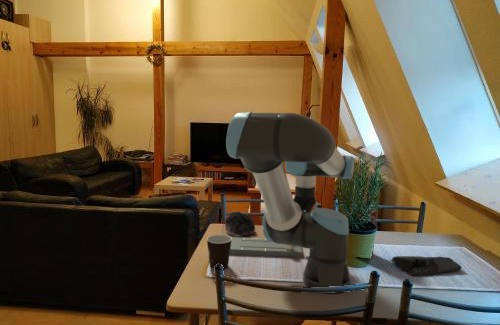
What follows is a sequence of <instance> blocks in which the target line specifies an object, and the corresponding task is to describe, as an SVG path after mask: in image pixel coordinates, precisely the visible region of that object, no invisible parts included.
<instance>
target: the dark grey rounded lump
mask: <svg viewBox="0 0 500 325" xmlns="http://www.w3.org/2000/svg"><path fill="white" fill-rule="evenodd" d="M224 225H225V230H226V233H227V235H230V236H233V237H236V238H242V237H244V236H249V235H250V236H251V235H253V234H255V230H256V225H255V222H254V219H253V218H251V216H249V215H248V214H246V213H242V212H240V211H231V213H230V214H229V216H228V217H226V219H225V224H224Z"/></svg>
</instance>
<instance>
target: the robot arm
mask: <svg viewBox="0 0 500 325" xmlns="http://www.w3.org/2000/svg"><path fill="white" fill-rule="evenodd" d="M225 143H226V144H225V147H226V152H227V154H228V156H229V157H230V158H233V159H235V160H236V159H240V161H241V162H242V165H243V167H244V169H245V170H247V171H248V172H249V173H252V175H253V176H254V177H253V178H254V179H255V183H256V184H257V188H258V190H259V193H260V195H261V197H262V200H263V202H264V205H265V207H266V208H265V209H266V210H265V212H264V214H263V218H262V223H261V226H262V233H263V236H264V238H266V239H267V240H269V241H271V242H274V243H277V244H285V245H291V246H297V247H301V249H302V248H303V249H309V256H308V260H307V262H306V265H305V267H304V270H303V274H302V281H303V283H304V285H306V286H307V287H308V288H309V287H329V286H344V285H351V286H352V277H351V273H350V270H349V266H348V262H347V259H348V258H347V256H348V242H349V239H348V238H349V233H350V230H349V218H348V217H347V216H346V215H345V214H343V213H342V212H340V211H337V210H334V209H330V208H326V207H322V204H321V203H318V202H317V200H316V197H315V196H316V187H315V186H316V177H324V178H336V179H340V180H341V179H342V180H344V179H348V180H349V179H352V178H353V176H354V172H355V171H354V170H355V159H354V157H353V156H349V155H345V154H344V155H342V153H341V152H340V151H339V149H338V148H337V146H336V140H335V137H334V135H333V134H332V132H331V131H330V130H329V129H328V128H327V127H326V126H324V125H323V124H322V123H320V122H318V121H316V120H315V119H313V118H311V117H309V116H307V115H303V114H299V113H296V112H295V113H294V112H252V111H246V112H244V111H243V112H237V113H236V114H235V115H233V116H232V118H231V120H230V121H229V124H228V127H227V132H226V138H225ZM284 163H285V164H284ZM284 165H285V167H284ZM287 173H288V174H289V175H291V176H292V177H295V182H294V183H295V186H294V198H293V194H292V191H291V187H290V183H289V180H288V177H287Z"/></svg>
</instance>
